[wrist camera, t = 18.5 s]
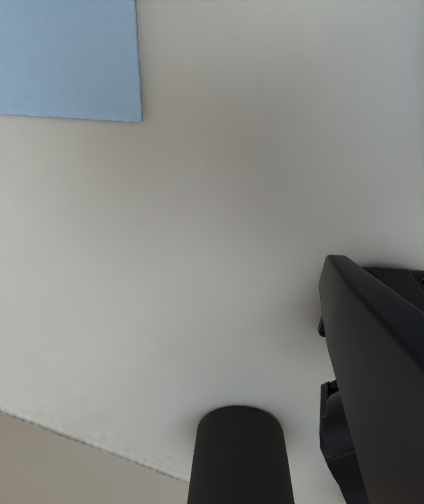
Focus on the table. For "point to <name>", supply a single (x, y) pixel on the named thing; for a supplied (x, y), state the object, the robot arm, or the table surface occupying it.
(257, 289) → the table surface
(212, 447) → the pen holder
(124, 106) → the blue square mat
